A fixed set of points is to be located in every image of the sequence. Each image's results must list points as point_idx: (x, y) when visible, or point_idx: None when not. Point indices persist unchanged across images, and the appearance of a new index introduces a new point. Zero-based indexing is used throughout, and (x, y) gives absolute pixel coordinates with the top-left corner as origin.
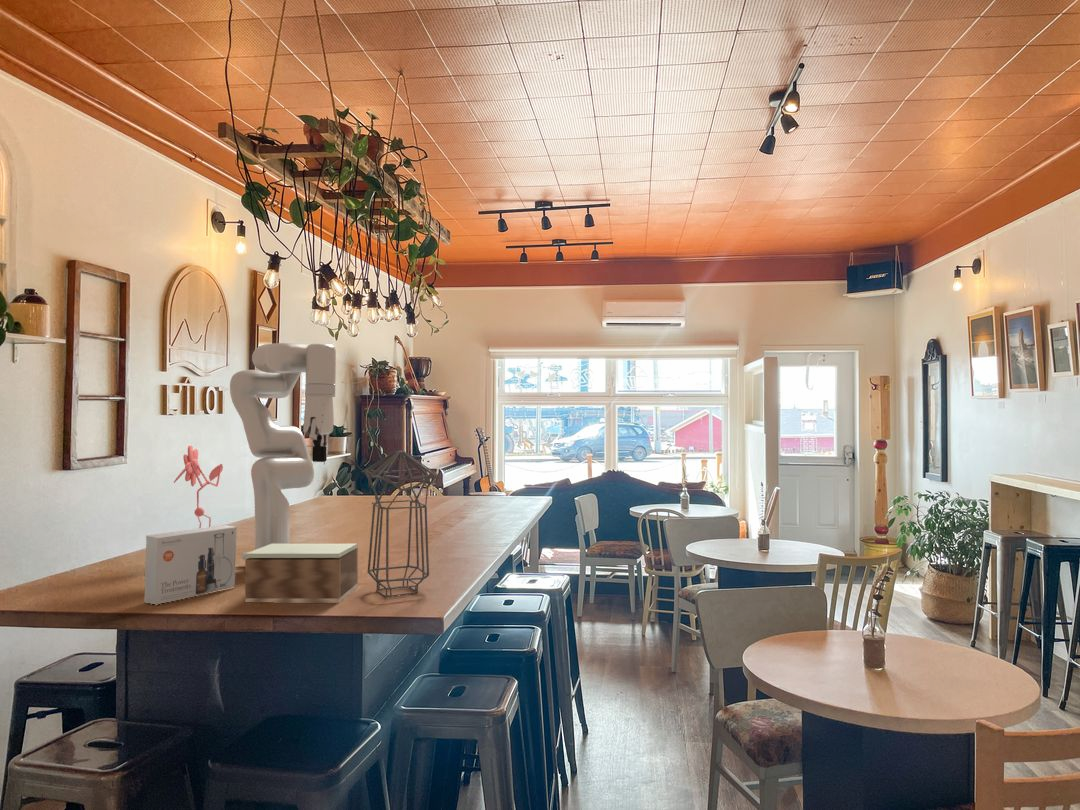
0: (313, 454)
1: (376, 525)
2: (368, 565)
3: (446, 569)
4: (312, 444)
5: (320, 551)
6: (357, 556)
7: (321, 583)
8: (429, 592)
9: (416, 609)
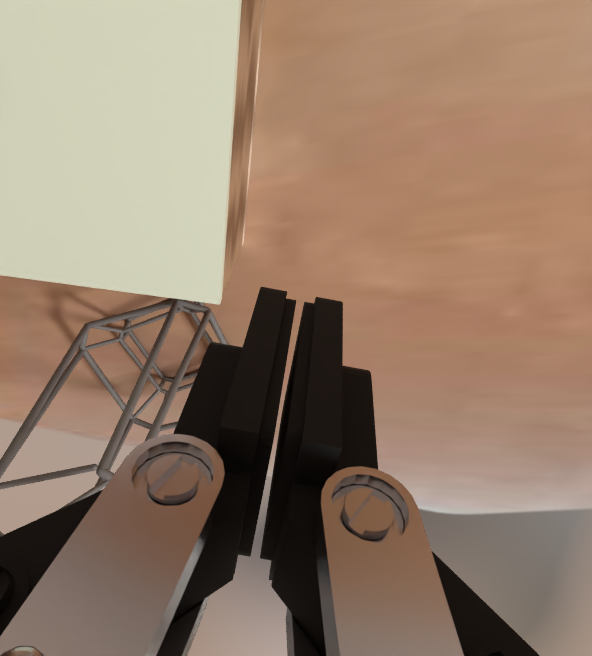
0: (243, 347)
1: (160, 408)
2: (169, 310)
3: (428, 438)
4: (124, 464)
5: (12, 200)
6: (227, 282)
7: None
8: (177, 401)
9: (26, 379)
